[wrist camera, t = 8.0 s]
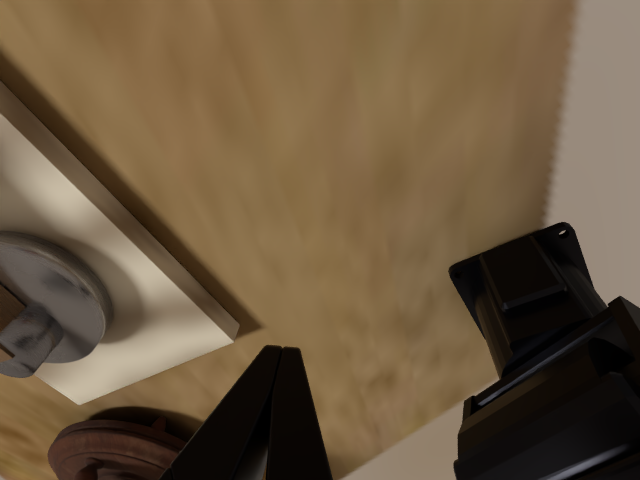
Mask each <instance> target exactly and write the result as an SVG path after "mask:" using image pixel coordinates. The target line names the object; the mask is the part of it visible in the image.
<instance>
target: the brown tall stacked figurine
mask: <svg viewBox="0 0 640 480" xmlns="http://www.w3.org/2000/svg"><path fill="white" fill-rule="evenodd" d="M165 426H166V419H165V417H163V416H161V417H159V418H158V419H157V420H156V421H155V422H154V423H153V425H152V426H151V427H148V426H144V425H140V424H136V423H131V422H125V421H117V420H89V421H83V422H78V423H75V424H72V425H70V426H68V427H66V428H65V429H63V430H62V431H61V432H60V433H59V434H58V436H57V437H56V439H55V440H54V442H53V444H52V445H51V447H50V448H49V451H48V461H49V464H50V466H51V468H52V469H53V471H54V472H55V473H56V475H57V477H58V479H59V480H158V479H159V478H160V476H161V475H162V474H163V473H164V471H165V470H166V469H167V468H170V464H171V463H172V462H173V460H174V459H175V458H176V457H177V455H178V454H179V453H180V452H181V450H182V449H183V448H184V447H185V445H186V444H187V443H186V442H184V441H182V440H181V439H179V438H177V437H175V436H172V435H170V434H168V433H165V432H164V431H165ZM170 469H171V468H170Z"/></svg>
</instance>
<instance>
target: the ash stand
mask: <svg viewBox="0 0 640 480" xmlns="http://www.w3.org/2000/svg"><path fill="white" fill-rule="evenodd" d="M0 230H4V231H15V232H21V233H26V234H29V235H33V236H36V237H39V238H42V239H44V240H47V241H49V242H51V243H53V244H55V245H57V246H59V247H61V248H63V249H64V250H66V251H68V252H69V253H71V254H72V255H74V256H75V257H77V258H78V259H79V260H80V261H82V262H83V263H84V264H85V265H86V266H87V267H88V268H89V269H90V270H92V271H93V272H94V274H95V275H96V276H97V277H98V278H99V279H100V281H101V282H102V284H103V285H104V287H105V288H106V290H107V292H108V294H109V296H110V299H111V302H112V306H113V320H112V323H111V326H110V328H109V329H108V330H107V332H106V333H105V335H104V336H103V337H102V339H101V340H100V342H99V343H98V344H97V346H96V347H95V349H94V350H93V351H92V352H91V353H90V354H89V355H88V356H86V357H84V358H83V359H80V360H77V361H74V362H69V363H42V364H41V366H40V367H39V368H38V369H37V371H36V372H35V373H34V375H35V376H37V377H38V378H40V379H41V380H43V381H44V382H46V383H47V384H49V385H50V386H51V387H53V388H54V389H56V390H57V391H59V392H60V393H62V394H63V395H65V396H66V397H68V398H69V399H71V400H72V401H74V402H75V403H76V404H78V405H81V404H83V403H86V402H88V401H91V400H93V399H96V398H98V397H100V396H103V395H105V394H108V393H110V392H113V391H115V390H118V389H120V388H123V387H125V386H127V385H130V384H132V383H135V382H137V381H140V380H142V379H145V378H147V377H150V376H152V375H154V374H157V373H159V372H162V371H164V370H167V369H169V368H172V367H174V366H177V365H179V364H182V363H184V362H186V361H189V360H191V359H194V358H196V357H199V356H201V355H204V354H206V353H209V352H211V351H213V350H216V349H218V348H221V347H223V346H226V345H228V344H231V343H233V342H234V341H235V338H236V335H237V332H238V329H239V326H240V324H239V323H238V322H237V321H236V320H235V319H234V318H233V317H232V316H231V315H230V314H229V313H228V312H227V311H226V310H225V309H224V308H223V307H222V306H221V305H220V304H219V303H218V302H217V301H216V300H215V299H214V298H213V297H212V296H211V295H210V294H209V293H208V292H207V291H206V290H205V289H204V288H203V287H202V286H201V285H200V284H199V283H198V282H197V281H196V280H195V279H194V278H193V277H192V276H191V275H190V273H189V272H188V271H187V270H186V269H185V268H184V267H183V266H182V265H181V264H180V263H179V262H178V261H177V260H176V259H175V258H174V257H173V256H172V255H171V254H170V253H169V252H168V251H167V250H166V249H165V248H164V247H163V246H162V245H161V244H160V243H159V242H158V241H157V240H156V239H155V238H154V237H153V236H152V235H151V234H150V233H149V232H148V231H147V230H146V229H145V228H144V227H143V226H142V225H141V224H140V222H139V221H138V220H137V219H136V218H135V217H134V216H133V215H132V214H131V213H130V212H129V211H128V210H127V209H126V208H125V207H124V206H123V205H122V204H121V203H120V202H119V201H118V200H117V199H116V198H115V197H114V196H113V195H112V194H111V193H110V192H109V191H108V190H107V189H106V188H105V187H104V186H103V185H102V184H101V183H100V182H99V181H98V180H97V179H96V178H95V177H94V176H93V175H92V174H91V173H90V171H89V170H88V169H87V168H86V167H85V166H84V165H83V164H82V163H81V162H80V161H79V160H78V159H77V158H76V157H75V156H74V155H73V154H72V153H71V152H70V151H69V150H68V149H67V148H66V147H65V146H64V145H63V144H62V143H61V142H60V141H59V140H58V139H57V138H56V137H55V136H54V135H53V134H52V133H51V132H50V131H49V130H48V129H47V128H46V127H45V126H44V125H43V124H42V123H41V122H40V120H39V119H38V118H37V117H36V116H35V115H34V114H33V113H32V112H31V111H30V110H29V109H28V108H27V107H26V106H25V105H24V104H23V103H22V102H21V101H20V100H19V99H18V98H17V97H16V96H15V95H14V94H13V93H12V92H11V91H10V90H9V89H8V88H7V87H6V86H5V85H4V84H3V83H2V82H1V81H0Z"/></svg>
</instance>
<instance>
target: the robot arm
mask: <svg viewBox="0 0 640 480" xmlns="http://www.w3.org/2000/svg"><path fill="white" fill-rule="evenodd" d="M564 230H566V231H565V232H564V233H563V234H560V235H559V233H560V232H561V231H564ZM458 271H461V273H459V274H455V273H456V272H458ZM448 272H449V275H450V278H451V280H452V282H453V284H454V286H455V287H456V289H457V291H458V293H459V294H460V296H461V298H462V300H463V301H464V303H465V305H466V307H467V308H468V310H469V312H470V314H471V316H472V317H473V319H474V321H475V323H476V324H477V326H478V328H479V330H480V331H481V333H482V335H483V337H484V339H485V340H486V342H487V344H488V347H489V350H490V353H491V356H492V359H493V362H494V365H495V367H496V370H497V373H498V376H499V379H500V380H499V381H497V382H496V383H494V384H493V385H491V386H490V387H488V388H487V389H485V390H484V391H482V392H481V393H479V394H478V395H476V396H471V397H469V398H468V399H467V400H465V401H464V408H463V421H462V425H461V428H460V430H459V433H458V459H457V460H455V461H454V472H455V476H456V480H640V308H639V307H637V306H635V305H634V304H632V303H631V302H629V301H628V300H626V299H625V298H623V297H622V296H619V297H617V298H616V299H614V300H613V301H611V302H610V303H608V306H609V307H607V306H606V304H605V303H604V302H603V300H602V299H601V298H600V296H599V295H598V294H597V292H596V291H595V289H594V287H593V284H592V281H591V278H590V275H589V272H588V269H587V266H586V263H585V260H584V257H583V255H582V251H581V248H580V245H579V242H578V239H577V236H576V233H575V231H574V229H573V228H572V227H571V225H570V224H568V223H566V222H561V223H557V224H555V225H552V226H549V227H547V228H544V229H542V230H539V231H537V232H534V233H532V234H529V235H527V236H524V237H522V238H519V239H517V240H514V241H512V242H509V243H507V244H504V245H502V246H499V247H496V248H494V249H491V250H489V251H486V252H484V253H481V254H479V255H476V256H474V257H471V258H469V259H466V260H464V261H461V262H459V263H456V264H454V265H452V266H451V267H450V268H449V271H448ZM266 463H267V468H266V480H333V478H332V474H331V470H330V466H329V462H328V458H327V454H326V451H325V447H324V443H323V439H322V435H321V431H320V427H319V423H318V419H317V415H316V411H315V407H314V403H313V399H312V395H311V391H310V387H309V383H308V379H307V375H306V371H305V367H304V363H303V359H302V355H301V351H300V349H299V348H297V347H287V346H286V347H284V348H282V347H281V346H276V345H266V346H265V347H264V348H263V349H262V350H261V351H260V353H259V354H258V355H257V356H256V358H255V359H254V360H253V361H252V363H251V364H250V365H249V366H248V368H247V369H246V370H245V371H244V373H243V374H242V375H241V376H240V378H239V379H238V380H237V381H236V383H235V384H234V385H233V386H232V388H231V389H230V390H229V391H228V393H227V394H226V395H225V396H224V398H223V399H222V400H221V401H220V403H219V404H218V405H217V406H216V408H215V409H214V410H213V411H212V413H211V414H210V415H209V416H208V418H207V419H206V420H205V422H204V423H203V424H202V425H201V427H200V428H199V429H198V430H197V432H196V433H195V434H194V435H193V437H192V438H191V439H190V440H189V442H188V443H187V444H186V445H185V447H184V448H183V449H182V450H181V452H180V453H179V454H178V455H177V457H176V458H175V459H174V460H173V462H172V463H171V464H170V468H171V469H170V468H167V469H166V470H165V471H164V473H163V474H162V475H161V476H160V478H159V479H158V480H262V478H263V474H264V470H265V467H266Z"/></svg>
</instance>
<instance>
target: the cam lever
mask: <svg viewBox="0 0 640 480" xmlns="http://www.w3.org/2000/svg"><path fill="white" fill-rule="evenodd" d="M112 320H113V306H112V302H111V299H110V296H109V294H108V292H107V290H106V288H105V287H104V285H103V284H102V282H101V281H100V279H99V278H98V277H97V276H96V275H95V274H94V272H93V271H92V270H90V269H89V268H88V267H87V266H86V265H85V264H84V263H83V262H82V261H80V260H79V259H78V258H77V257H75V256H74V255H72V254H71V253H69V252H68V251H66V250H64V249H63V248H61V247H59V246H57V245H55V244H53V243H51V242H49V241H47V240H44V239H42V238H39V237H36V236H33V235H29V234H26V233H21V232H15V231H4V230H0V373H1V374H4V375H7V376H11V377H17V378H25V377H29V376H31V375H33V374H34V373H35V372H36V371H37V369H38V368H39V367H40V366H41V364H42V363H69V362H74V361H77V360H80V359H83V358H84V357H86V356H88V355H89V354H90V353H91V352H92V351H93V350H94V349H95V347H96V346H97V344H98V343H99V342H100V340H101V339H102V337H103V336H104V335H105V333H106V332H107V330H108V329H109V328H110V326H111V323H112Z"/></svg>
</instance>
